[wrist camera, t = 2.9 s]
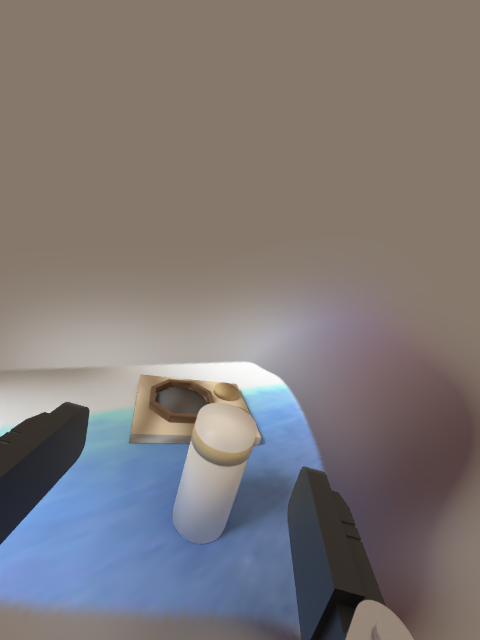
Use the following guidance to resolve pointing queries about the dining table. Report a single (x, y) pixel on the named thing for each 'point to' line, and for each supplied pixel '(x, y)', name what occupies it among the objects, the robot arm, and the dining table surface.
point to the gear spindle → (213, 471)
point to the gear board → (177, 407)
